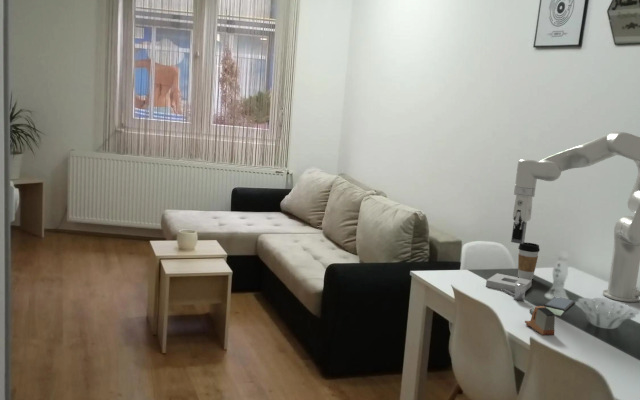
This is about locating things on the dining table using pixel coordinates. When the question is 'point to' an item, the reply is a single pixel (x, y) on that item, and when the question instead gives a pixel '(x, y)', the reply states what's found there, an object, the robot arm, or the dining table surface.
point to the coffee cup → (527, 260)
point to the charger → (522, 234)
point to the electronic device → (542, 320)
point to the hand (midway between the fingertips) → (518, 237)
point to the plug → (519, 292)
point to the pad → (556, 311)
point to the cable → (508, 292)
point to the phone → (559, 303)
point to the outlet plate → (507, 282)
